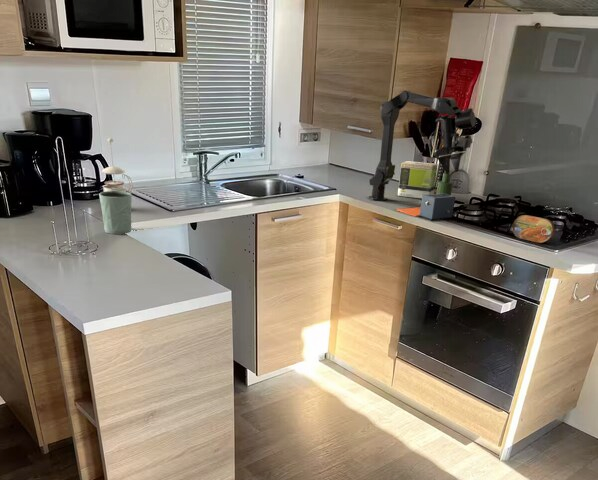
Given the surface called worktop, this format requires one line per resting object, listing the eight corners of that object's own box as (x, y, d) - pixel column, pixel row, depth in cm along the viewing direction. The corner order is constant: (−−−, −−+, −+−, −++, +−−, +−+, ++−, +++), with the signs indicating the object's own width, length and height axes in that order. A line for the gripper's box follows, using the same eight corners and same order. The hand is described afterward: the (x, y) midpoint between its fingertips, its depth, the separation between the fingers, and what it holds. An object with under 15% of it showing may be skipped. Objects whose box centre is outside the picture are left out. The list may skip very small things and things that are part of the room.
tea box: (433, 196, 283) (438, 163, 275) (428, 200, 275) (433, 166, 267) (402, 192, 288) (407, 159, 280) (396, 196, 280) (401, 162, 272)
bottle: (431, 205, 265) (437, 172, 258) (444, 205, 266) (450, 172, 259) (437, 208, 260) (443, 174, 253) (451, 208, 261) (456, 174, 254)
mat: (396, 210, 252) (396, 209, 252) (421, 207, 259) (421, 207, 259) (415, 216, 244) (415, 215, 244) (440, 214, 251) (440, 213, 250)
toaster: (417, 216, 244) (420, 194, 239) (439, 214, 250) (443, 192, 245) (431, 221, 238) (434, 198, 234) (453, 218, 244) (457, 196, 240)
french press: (98, 207, 229) (91, 136, 216) (127, 205, 235) (121, 135, 223) (110, 213, 222) (103, 140, 210) (139, 210, 229) (133, 139, 217)
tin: (510, 236, 223) (515, 213, 219) (514, 235, 225) (519, 212, 221) (548, 245, 214) (554, 221, 210) (552, 244, 216) (558, 220, 212)
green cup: (98, 229, 202) (94, 192, 196) (127, 225, 208) (123, 189, 202) (110, 236, 195) (106, 198, 189) (139, 232, 201) (136, 195, 195)
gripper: (459, 129, 231) (462, 171, 236) (477, 126, 244) (479, 167, 249) (432, 134, 237) (436, 176, 243) (451, 132, 251) (454, 171, 256)
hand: (452, 172), depth 247 cm, fingers open, 9 cm apart
